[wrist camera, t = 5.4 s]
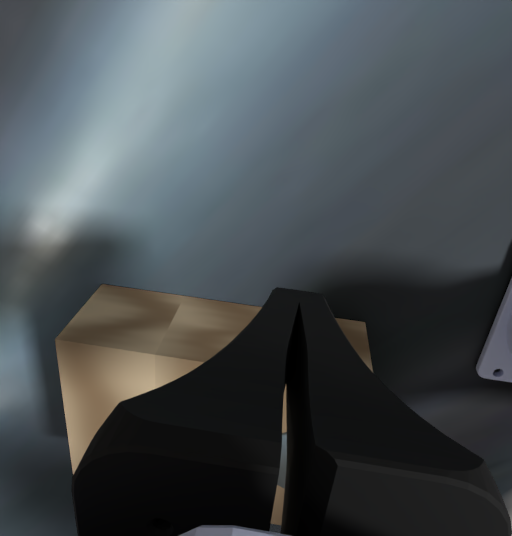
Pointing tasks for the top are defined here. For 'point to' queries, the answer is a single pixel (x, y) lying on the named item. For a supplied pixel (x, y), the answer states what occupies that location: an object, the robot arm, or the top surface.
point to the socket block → (151, 355)
